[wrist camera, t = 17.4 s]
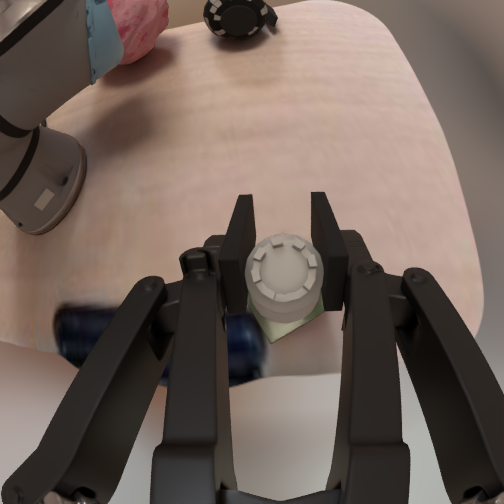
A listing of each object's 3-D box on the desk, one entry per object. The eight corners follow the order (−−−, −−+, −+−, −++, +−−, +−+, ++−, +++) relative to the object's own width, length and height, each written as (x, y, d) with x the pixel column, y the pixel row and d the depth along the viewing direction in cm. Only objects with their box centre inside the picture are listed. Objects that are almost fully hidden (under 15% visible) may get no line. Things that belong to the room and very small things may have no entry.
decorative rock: (87, -10, 27) (165, -9, 34) (75, 58, 36) (149, 55, 44) (81, -16, 17) (195, -11, 25) (67, 83, 27) (171, 79, 35)
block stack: (244, 287, 27) (231, 276, 21) (295, 256, 27) (297, 236, 21) (274, 337, 26) (270, 344, 19) (325, 306, 26) (339, 302, 19)
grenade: (274, 56, 35) (259, 26, 42) (295, 4, 27) (274, -15, 34) (197, 44, 32) (199, 17, 38) (211, -13, 24) (210, -26, 30)
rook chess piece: (249, 257, 19) (225, 216, 12) (316, 253, 19) (336, 209, 11) (251, 325, 18) (226, 330, 11) (321, 321, 18) (346, 323, 10)
